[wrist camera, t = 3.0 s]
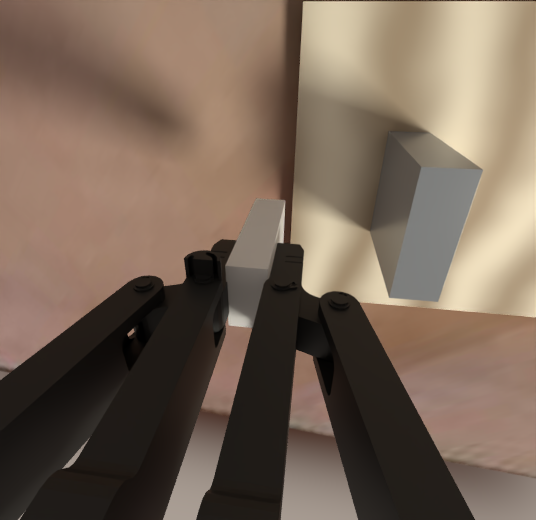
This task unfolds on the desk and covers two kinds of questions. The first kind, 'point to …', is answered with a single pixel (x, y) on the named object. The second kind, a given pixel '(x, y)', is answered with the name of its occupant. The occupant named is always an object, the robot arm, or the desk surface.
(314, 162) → the board
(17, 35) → the desk surface
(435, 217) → the tile
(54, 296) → the desk surface
